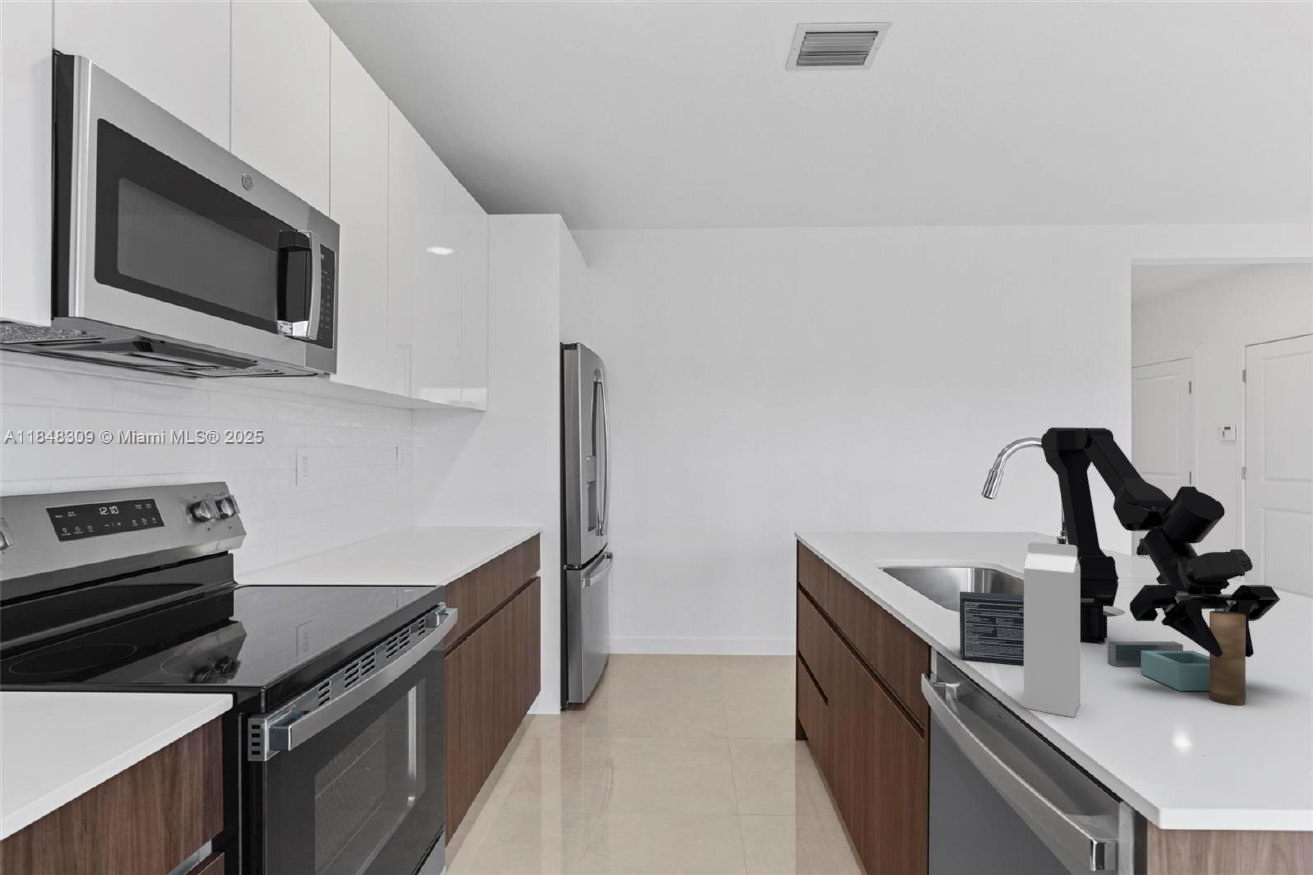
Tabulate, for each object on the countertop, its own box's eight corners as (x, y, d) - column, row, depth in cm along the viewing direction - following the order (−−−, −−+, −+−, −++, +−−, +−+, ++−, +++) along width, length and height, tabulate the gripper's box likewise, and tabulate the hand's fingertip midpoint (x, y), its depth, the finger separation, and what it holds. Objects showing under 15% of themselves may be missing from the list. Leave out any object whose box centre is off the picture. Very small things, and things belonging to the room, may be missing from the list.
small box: (1026, 656, 126) (1027, 593, 127) (1032, 667, 120) (1032, 601, 120) (959, 650, 130) (959, 589, 130) (961, 660, 124) (961, 596, 124)
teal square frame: (1141, 673, 117) (1141, 650, 117) (1193, 673, 117) (1193, 650, 117) (1179, 690, 108) (1179, 666, 108) (1235, 690, 109) (1235, 666, 109)
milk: (1032, 696, 106) (1031, 539, 106) (1081, 705, 102) (1080, 543, 103) (1023, 708, 101) (1022, 543, 101) (1074, 718, 97) (1073, 547, 98)
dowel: (1212, 702, 104) (1212, 615, 104) (1206, 694, 107) (1206, 609, 108) (1248, 707, 102) (1248, 618, 102) (1241, 698, 106) (1241, 612, 106)
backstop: (1107, 663, 122) (1107, 641, 123) (1174, 663, 123) (1174, 641, 123) (1115, 666, 120) (1115, 644, 121) (1183, 666, 121) (1183, 644, 121)
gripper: (1142, 529, 109) (1199, 624, 98) (1268, 529, 109) (1340, 624, 98) (1108, 574, 116) (1157, 667, 105) (1226, 574, 117) (1287, 666, 106)
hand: (1235, 655), depth 103 cm, fingers closed on dowel, 4 cm apart
